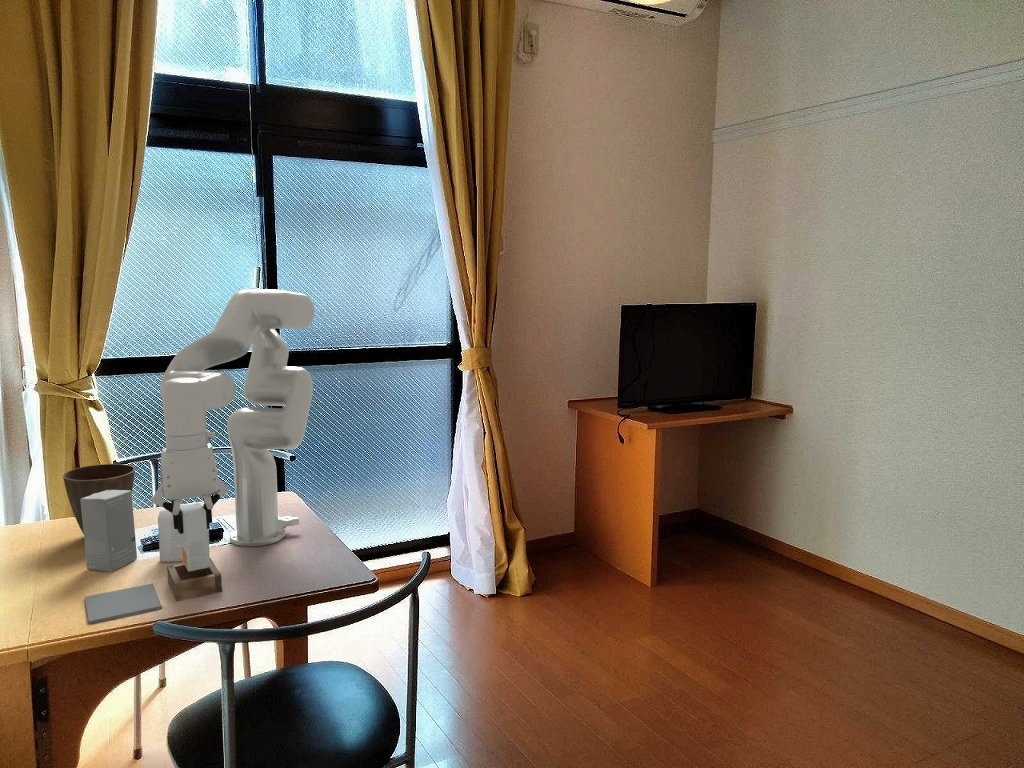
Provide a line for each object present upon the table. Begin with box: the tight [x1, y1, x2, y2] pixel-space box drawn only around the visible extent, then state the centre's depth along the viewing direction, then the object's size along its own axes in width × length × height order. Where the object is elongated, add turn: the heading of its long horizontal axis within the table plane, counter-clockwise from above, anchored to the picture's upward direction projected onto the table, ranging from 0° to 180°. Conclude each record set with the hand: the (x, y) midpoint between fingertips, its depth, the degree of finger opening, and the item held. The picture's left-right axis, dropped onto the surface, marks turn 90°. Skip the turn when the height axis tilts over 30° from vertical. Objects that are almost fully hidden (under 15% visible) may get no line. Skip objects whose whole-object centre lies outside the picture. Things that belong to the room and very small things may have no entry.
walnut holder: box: [166, 557, 223, 602], centre depth 149 cm, size 8×10×4 cm
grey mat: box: [84, 583, 163, 625], centre depth 141 cm, size 12×12×1 cm
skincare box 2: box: [180, 502, 210, 571], centre depth 149 cm, size 6×4×12 cm
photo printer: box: [157, 503, 211, 563], centre depth 163 cm, size 10×4×12 cm, turn 103°
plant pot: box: [62, 463, 136, 536], centre depth 176 cm, size 15×15×16 cm
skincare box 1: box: [80, 490, 138, 573], centre depth 159 cm, size 8×7×16 cm
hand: (193, 528), depth 148 cm, fingers closed on skincare box 2, 4 cm apart
